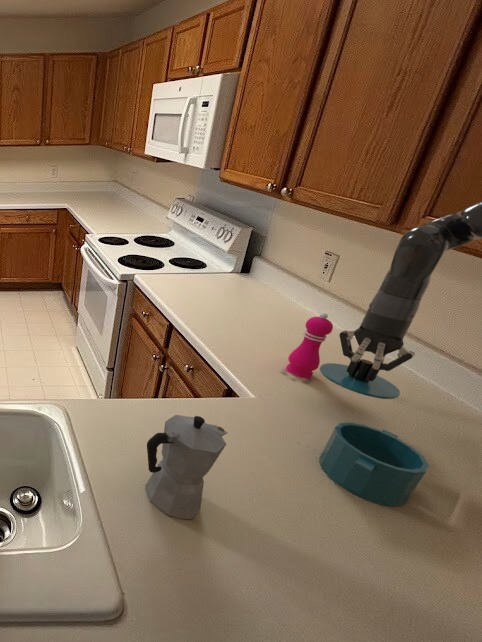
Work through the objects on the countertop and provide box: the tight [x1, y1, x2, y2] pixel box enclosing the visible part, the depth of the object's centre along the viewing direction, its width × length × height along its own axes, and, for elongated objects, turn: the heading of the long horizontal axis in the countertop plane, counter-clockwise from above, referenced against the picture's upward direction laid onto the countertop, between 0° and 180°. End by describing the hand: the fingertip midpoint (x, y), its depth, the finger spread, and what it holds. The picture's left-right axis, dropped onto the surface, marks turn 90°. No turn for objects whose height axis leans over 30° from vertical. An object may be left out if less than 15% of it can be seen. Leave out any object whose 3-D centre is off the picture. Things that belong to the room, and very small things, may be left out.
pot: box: [319, 422, 430, 508], centre depth 82 cm, size 14×19×8 cm
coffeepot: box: [145, 414, 228, 520], centre depth 71 cm, size 15×9×18 cm, turn 105°
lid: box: [319, 358, 401, 400], centre depth 98 cm, size 15×15×6 cm
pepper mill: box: [285, 312, 334, 379], centre depth 118 cm, size 7×7×20 cm
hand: (358, 377), depth 99 cm, fingers closed on lid, 2 cm apart
